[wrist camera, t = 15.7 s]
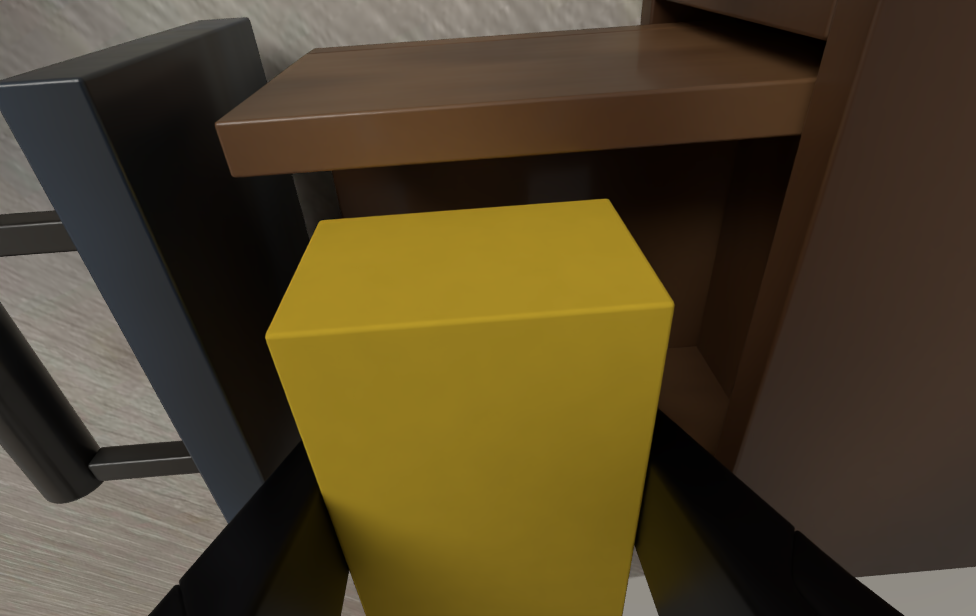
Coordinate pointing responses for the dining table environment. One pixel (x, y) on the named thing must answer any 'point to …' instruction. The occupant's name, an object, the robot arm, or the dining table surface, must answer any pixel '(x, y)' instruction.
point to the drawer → (377, 202)
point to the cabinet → (867, 290)
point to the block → (478, 403)
